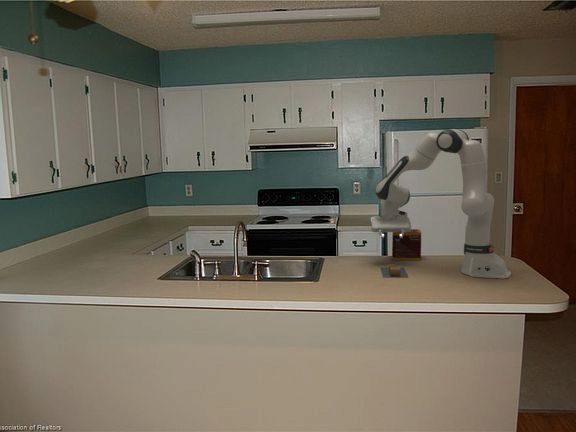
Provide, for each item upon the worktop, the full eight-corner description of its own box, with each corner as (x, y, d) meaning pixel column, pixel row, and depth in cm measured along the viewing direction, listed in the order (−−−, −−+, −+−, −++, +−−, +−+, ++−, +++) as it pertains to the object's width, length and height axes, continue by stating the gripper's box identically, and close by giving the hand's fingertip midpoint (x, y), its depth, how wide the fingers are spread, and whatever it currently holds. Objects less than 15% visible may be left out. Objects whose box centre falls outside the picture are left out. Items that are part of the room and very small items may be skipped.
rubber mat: (380, 268, 265) (380, 267, 265) (404, 268, 263) (404, 267, 263) (382, 278, 245) (382, 277, 245) (408, 278, 244) (408, 277, 244)
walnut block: (389, 264, 256) (390, 269, 246) (398, 264, 255) (400, 269, 245) (389, 271, 256) (390, 276, 246) (398, 271, 256) (400, 276, 246)
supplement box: (421, 260, 279) (421, 232, 277) (392, 260, 282) (392, 232, 280) (420, 256, 289) (420, 229, 287) (392, 256, 292) (392, 228, 290)
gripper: (370, 212, 271) (371, 234, 263) (410, 212, 269) (412, 234, 261) (370, 220, 276) (371, 241, 268) (409, 219, 274) (411, 241, 266)
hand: (391, 237), depth 264 cm, fingers open, 8 cm apart
